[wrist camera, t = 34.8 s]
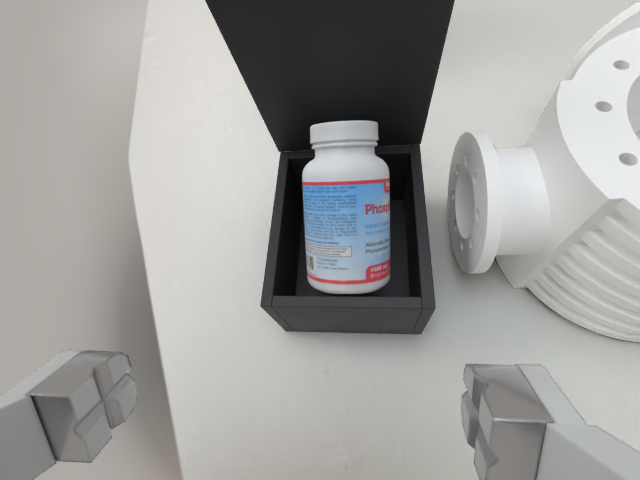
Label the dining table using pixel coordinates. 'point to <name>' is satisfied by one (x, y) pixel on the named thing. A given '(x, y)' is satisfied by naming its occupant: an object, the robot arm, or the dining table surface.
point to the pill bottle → (346, 209)
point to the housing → (564, 192)
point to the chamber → (352, 309)
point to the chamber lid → (337, 62)
